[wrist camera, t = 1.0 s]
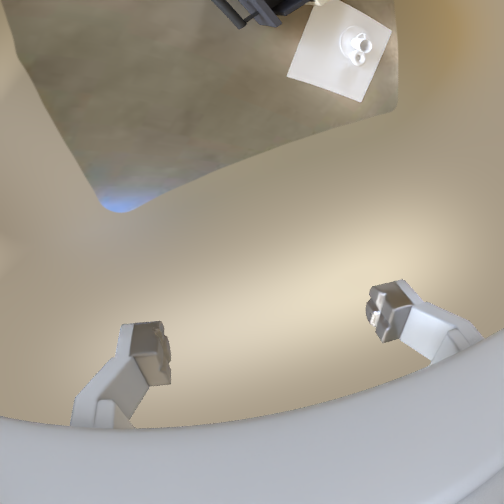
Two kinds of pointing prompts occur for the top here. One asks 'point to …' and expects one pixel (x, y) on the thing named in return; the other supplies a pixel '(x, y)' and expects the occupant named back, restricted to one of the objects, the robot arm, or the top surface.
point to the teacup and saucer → (339, 49)
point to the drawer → (260, 11)
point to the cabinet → (317, 2)
